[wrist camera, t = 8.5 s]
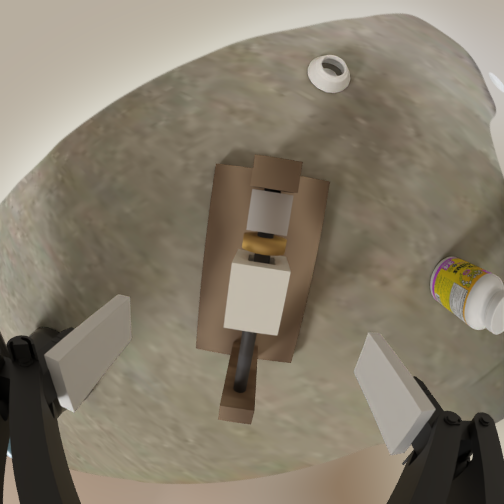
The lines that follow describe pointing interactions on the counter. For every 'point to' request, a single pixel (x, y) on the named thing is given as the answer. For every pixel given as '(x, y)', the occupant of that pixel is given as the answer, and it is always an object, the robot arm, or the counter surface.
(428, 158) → the counter surface
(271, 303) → the sleeve
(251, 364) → the brown stand with rod
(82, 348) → the robot arm
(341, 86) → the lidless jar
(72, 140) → the counter surface
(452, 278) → the supplement bottle
